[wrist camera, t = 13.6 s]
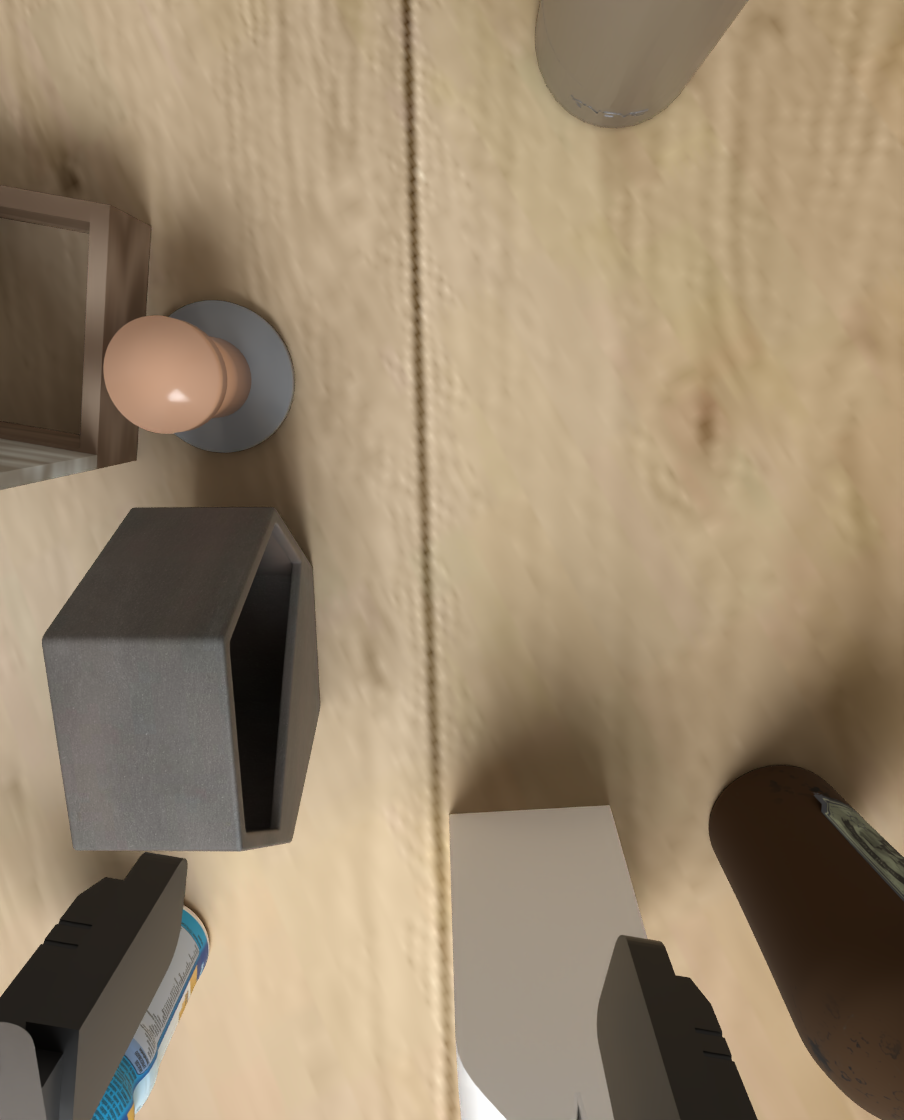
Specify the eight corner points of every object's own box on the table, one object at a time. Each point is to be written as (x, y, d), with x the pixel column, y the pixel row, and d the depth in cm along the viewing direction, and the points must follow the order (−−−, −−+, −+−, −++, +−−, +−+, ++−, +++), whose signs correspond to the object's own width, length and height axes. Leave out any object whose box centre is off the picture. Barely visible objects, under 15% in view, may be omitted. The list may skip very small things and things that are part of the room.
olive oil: (769, 912, 52) (1035, 1369, 28) (667, 827, 51) (855, 1232, 26) (880, 817, 50) (1272, 1220, 26) (778, 726, 49) (1091, 1064, 24)
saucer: (155, 289, 43) (149, 287, 42) (302, 316, 43) (300, 314, 42) (145, 438, 45) (139, 439, 44) (286, 462, 45) (283, 464, 44)
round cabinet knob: (168, 320, 42) (106, 305, 35) (264, 337, 42) (222, 326, 35) (161, 417, 44) (100, 423, 36) (254, 433, 44) (212, 442, 36)
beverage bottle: (204, 886, 52) (51, 1179, 33) (222, 980, 54) (87, 1309, 35) (93, 893, 53) (-123, 1187, 33) (115, 986, 55) (-78, 1315, 35)
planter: (311, 839, 46) (198, 859, 26) (194, 838, 46) (-5, 858, 27) (328, 590, 52) (244, 457, 32) (223, 590, 52) (77, 457, 32)
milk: (449, 814, 51) (433, 1236, 25) (609, 805, 50) (755, 1224, 25) (461, 954, 53) (457, 1459, 28) (613, 946, 53) (748, 1452, 28)
